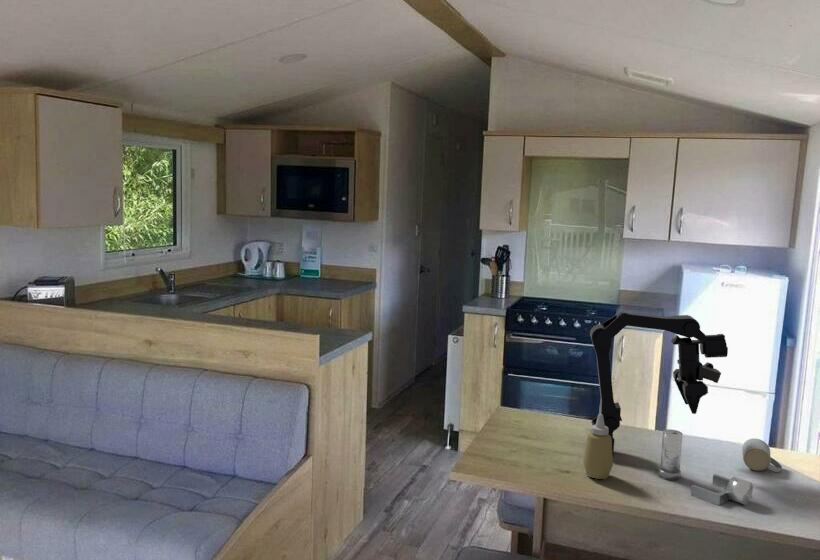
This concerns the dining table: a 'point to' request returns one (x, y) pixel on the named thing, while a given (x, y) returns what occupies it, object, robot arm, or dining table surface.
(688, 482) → the dining table surface
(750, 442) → the ceramic mug
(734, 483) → the duct saddle
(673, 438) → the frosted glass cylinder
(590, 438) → the squeeze bottle
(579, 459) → the dining table surface
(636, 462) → the dining table surface
